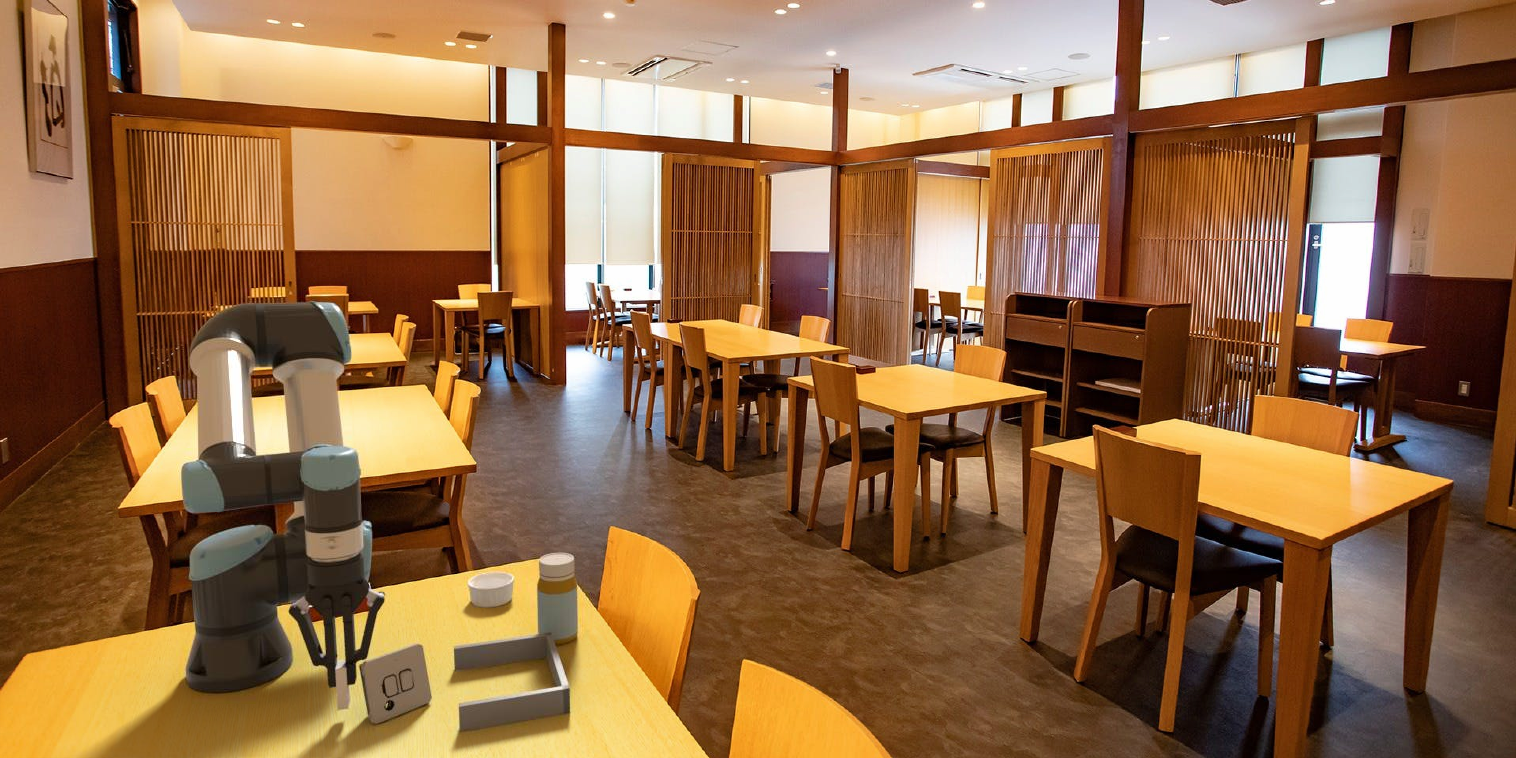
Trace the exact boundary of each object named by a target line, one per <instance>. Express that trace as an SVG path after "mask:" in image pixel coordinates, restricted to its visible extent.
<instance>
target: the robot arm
mask: <svg viewBox="0 0 1516 758" xmlns="http://www.w3.org/2000/svg"><path fill="white" fill-rule="evenodd" d="M350 339H351V338H350V333H349V329H348V326H347V322H346V318H345V316H344V314H343V311H342V309H341V308H340V306H338V305H337V304H336V303H333V302H323V301H322V302H321V301H319V302H317V301H313V300H310V301H308V302H307V301H305V302H303V301H302V302H261V303H260V302H259V303H258V302H257V303H256V302H245V303H244V302H243V303H239V304H235V305H233V306H229V307H227V308H225V309H222V310H221V311H220V312H218V313H216V314H215V315H214V316H211V318H209V319H208V320H207V321H206V322H205V323H204V324H203V325H202V326H201V327H200V329H199V330H198V331H197V332H196V334H195V336H194V338H193V340H192V341H191V343H190V347H189V367H190V370H191V371H192V372H193V374H194V375H195V376H196V384H197V386H196V387H197V388H196V391H197V392H196V393H197V395H196V396H197V397H196V398H197V400H196V401H197V403H196V405H197V453H198V454H197V460H194V461H189V462H188V461H187V462H185V463H183V464H182V467H181V469H180V470H181V473H180V474H181V475H180V478H181V479H180V480H181V483H180V484H181V493H182V494H181V495H182V503H183V506H184V509H185V510H186V511H187V512H189V513H192V514H200V513H215V512H217V513H221V512H224V511H233V510H238V509H239V510H240V509H247V508H253V507H254V508H255V507H260V506H261V507H263V506H267V505H268V506H269V505H279V504H287V503H289V504H290V503H293V505H294V512H293V513H292V514H291V515H290V516H289V518H288V519H287V520H286V521H285V532H280V533H274V532H273V530H272V528H271V527H270V526H268V525H265V524H264V525H263V524H258V525H254V524H249V525H243V526H237V527H233V528H230V529H226V530H224V531H220V532H218V533H215V534H212V535H210V536H208V537H206V538H204V539H202V540H201V541H200V542H199V543H197V544H196V545H194V547H193V548H192V550H191V551H190V554H189V573H188V579H189V580H190V581H191V593H192V594H191V595H192V604H193V605H192V606H193V618H194V628H195V629H194V630H195V631H194V632H195V634H194V638H193V641H192V645H191V648H190V651H189V655H188V659H187V662H186V666H185V677H186V678H185V679H186V684H187V686H188V687H189V688H191V687H192V688H191V689H193V690H195V691H198V692H202V691H205V692H204V693H226V692H227V693H228V692H233V691H234V692H235V691H239V690H244V689H248V688H252V687H255V686H258V685H261V684H264V683H266V682H267V683H268V681H271V680H273V679H275V678H277V677H279V676H280V675H282V674H284V673H285V671H287V670H288V669H289V668H290V667H291V666H292V664H293V661H294V656H293V646H292V644H291V641H290V640H289V637H288V635H287V634H286V631H285V629H284V627H283V625H282V623H281V621H280V619H279V616H278V615H279V614H278V605H283V604H289V603H291V604H290V606H289V609H288V613H289V615H290V616H291V618H292V619H294V620H295V621H296V622H297V625H298V628H299V631H300V634H301V636H302V639H303V642H304V644H305V647H306V650H307V651H308V652H307V653H308V655H309V657H310V660H311V663H312V665H313V666H314V667H320V666H322V667H325V669H326V673H327V675H326V676H327V685H328V687H329V689H333V688H336V705H337V711H342V710H348V709H349V707H350V702H351V695H350V693H351V692H350V686H353V685H356V682H357V676H358V675H357V673H358V672H357V663H358V662H360V661H366V659H367V658H368V656H369V651H370V646H371V644H372V637H373V633H374V628H375V624H376V621H377V615H378V612H379V611H380V609H381V608H382V607H383V605H384V603H385V599H386V593H385V592H384V591H375V590H373V589H372V588H370V584H369V579H370V574H371V573H370V572H371V566H372V565H371V564H372V554H373V553H372V551H373V549H372V548H373V530H372V523H371V522H370V521H369V520H368V521H367V520H363V518H362V501H361V499H362V498H361V497H362V496H361V475H362V472H361V471H362V469H361V468H360V467H361V466H360V463H359V461H360V460H359V453H358V452H357V449H354V448H353V447H348V446H344V439H343V438H344V437H343V429H342V419H341V412H340V411H341V409H340V402H339V394H338V393H339V392H338V384H337V383H338V382H337V380H338V378H339V377H340V376H342V374H343V373H344V371H345V365H346V364H349V363H350V362H351V361H352V346H351V342H350ZM255 368H271V369H272V375H273V378H274V379H275V380H278V381H279V382H280V383H281V384H283V394H284V404H285V415H286V416H285V417H286V427H287V438H288V439H287V440H288V448H289V452H281V453H280V452H279V453H271V454H270V453H269V454H268V453H267V454H259V455H258V454H257V445H256V436H255V435H256V434H255V424H254V423H255V422H254V409H253V408H254V407H253V398H252V383H251V374H252V372H253V370H254V369H255ZM365 598H366V599H367V601H366V605H367V606H368V607H369V608H368V611H367V617H366V622H365V626H364V629H363V635H362V638H361V644H360V647H359V648H358V649H356V647H357V646H356V631H355V612H356V611H357V610H358V608H359V607H360V606H361V604H362V603H363V602H364V600H365ZM309 605H310V606H311V607H312V608H313V609H314V610H315V611H316V612H317V613H318V614H319V615H320V616H321V617H322V621H323V631H324V632H323V633H324V649H325V653H324V652H323V649H322V646H321V643H320V640H319V638H318V637H319V636H318V635H317V632H316V630H315V627H314V624H313V621H312V618H311V616H310V613H309V610H310V606H309ZM338 616H339V617H340V616H341V617H342V623H343V640H344V641H343V643H344V659H342V660H341V659H340V660H338V657H339V655H338V648H337V631H336V630H337V629H336V617H338Z"/></svg>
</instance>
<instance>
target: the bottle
mask: <svg viewBox="0 0 1516 758" xmlns="http://www.w3.org/2000/svg"><path fill="white" fill-rule="evenodd" d="M538 567H539V569H538V572H539V578H538V580H537V583H536V595H537V596H536V600H537V601H536V603H537V605H536V606H537V634H543V633H550V632H551V633H552V636H553V639H554V642H555V645H556V646H560V645H561V646H562V645H565V644H568V643H570V642H572V641H573V640H574V639H575V638H577V636H578V633H579V632H578V629H579V627H578V626H579V623H578V618H579V617H578V582H577V579H576V577H575V557H574V555H572V554H570V553H568V552H551V553H548V554H545V555H542V556H540V558H539V559H538Z"/></svg>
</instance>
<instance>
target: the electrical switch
mask: <svg viewBox="0 0 1516 758" xmlns="http://www.w3.org/2000/svg"><path fill="white" fill-rule="evenodd" d="M425 656H426V655H425V652H424V646H423V645H422V644H421V643H417V642H416V643H413V644H411V645H407V646H405V647H403V648H399V649H397V650H393V651H389V652H388V653H385V654H383V655H379V656H376V657H373V658H371V659H367V660H364V661H363V662H362V663H361V664H359V665H358V668H359V669H358V670H359V673H360V679H361V683H362V690H363V695H364V702H365V707H366V713H367V716H369V720H370V722H371V723H372V724H380V723H383V722H385V721H387V720H390V719H393V718H395V717H397V716H401V715H402V714H405V713H408V712H410V711H413V710H414V709H417V708H419V707H421V706H424V705H426V704H429V703H430V702H431V700H432V697H433V695H432V689H431V685H430V679H429V673H428V667H427V662H426V657H425Z"/></svg>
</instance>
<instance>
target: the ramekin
mask: <svg viewBox="0 0 1516 758" xmlns="http://www.w3.org/2000/svg"><path fill="white" fill-rule="evenodd" d="M514 581H515V576H514V575H513V574H511V573H509V572H504V571H489V572H483V573H479V574H476V575H474V576H472V577H470V579H469V580H468V581H467V586H468V590H469V596H470V602H471V604H472V605H473V606H476V607H478V608H497V607H500V606H502V605H505V604H507V603H508V602H510V601H512V599H513V595H514V594H513V593H514Z"/></svg>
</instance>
